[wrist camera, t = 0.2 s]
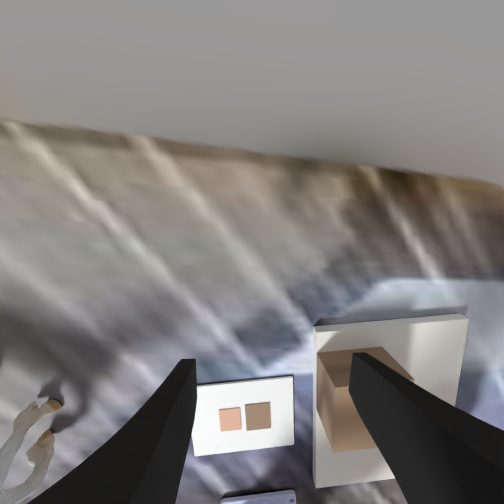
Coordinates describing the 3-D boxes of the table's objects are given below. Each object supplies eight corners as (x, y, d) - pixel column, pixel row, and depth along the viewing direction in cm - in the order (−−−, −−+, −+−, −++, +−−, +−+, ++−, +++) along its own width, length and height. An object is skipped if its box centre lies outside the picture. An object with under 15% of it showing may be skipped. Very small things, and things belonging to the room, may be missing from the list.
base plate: (436, 461, 26) (444, 471, 25) (312, 477, 26) (315, 488, 25) (458, 313, 22) (469, 318, 21) (313, 326, 22) (316, 332, 21)
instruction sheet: (293, 442, 24) (294, 445, 24) (195, 454, 24) (194, 457, 24) (292, 375, 23) (293, 378, 22) (185, 386, 22) (185, 389, 22)
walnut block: (377, 402, 23) (407, 443, 19) (316, 408, 22) (333, 452, 19) (381, 346, 21) (414, 379, 18) (316, 352, 21) (335, 387, 17)
